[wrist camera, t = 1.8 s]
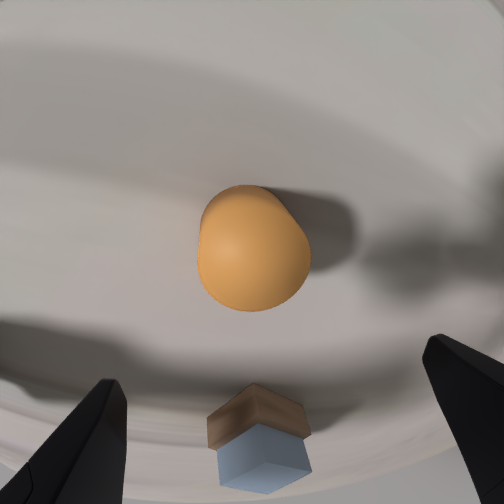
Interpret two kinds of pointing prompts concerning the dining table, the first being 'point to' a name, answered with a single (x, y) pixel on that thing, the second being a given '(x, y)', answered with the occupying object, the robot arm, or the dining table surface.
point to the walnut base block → (255, 416)
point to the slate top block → (262, 460)
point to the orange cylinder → (251, 250)
